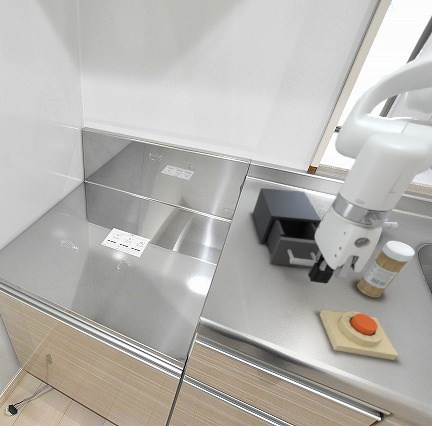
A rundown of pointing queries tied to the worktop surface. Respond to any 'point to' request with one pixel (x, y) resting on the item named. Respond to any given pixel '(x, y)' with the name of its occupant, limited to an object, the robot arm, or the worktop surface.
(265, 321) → the worktop surface
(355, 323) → the button
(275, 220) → the drawer
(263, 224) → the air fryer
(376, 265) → the sprinkles bottle
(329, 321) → the control pad
